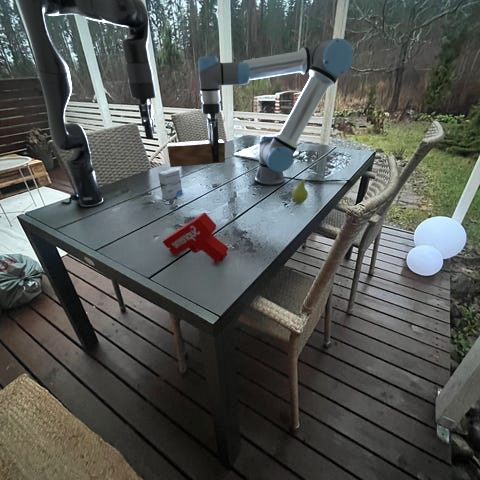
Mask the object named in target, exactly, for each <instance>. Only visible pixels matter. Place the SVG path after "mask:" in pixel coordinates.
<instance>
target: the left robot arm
mask: <svg viewBox="0 0 480 480" xmlns="http://www.w3.org/2000/svg"><path fill="white" fill-rule="evenodd" d="M17 2H18V6H19V9H20V11H21V14H22V17H23V21H24V24H25V26H26V30H27V33H28V36H29V40H30V43H31V47H32V53H33V55H34V56H33V57H34V61H35V65H36V71H37V74H38V78H39V82H40V85H41V90H42V93H43V98H44V102H45V107H46V113H47V118H48V120H47V121H48V128H49V133H50V137H51V140H52V142H53V145H54V146H55V147H56V148H57V149H58V150H59V151H61V152H67V151H71V150H72V153H71V154H70V155H69V156H68V157H67V158H66V159H65V165H66V167H67V171H68V173H69V176H70V178H71V181H72V182H71V186H72V189H73V193H70V195H69V199H68V200H69V201H61V202H60V203H61V204H62V205H63V204H64V205H70V204H71V203H72V201H73V202H76V201H77V202H78V205H80V206H81V207H83V208H93V207H96V206H99V205H102V204H103V203H104V198H103V195H102V193H101V188H100V186H99V183H98V179H97V176H96V173H95V169H94V166H93V163H92V154H91V150H90V147H89V141H88V138H87V134H86V132H85V130H84V129H83V127H82V126H81V125H80V124H79V123H76V122H70V123H66V121H65V113H66V108H67V105H68V103H69V100H70V97H71V94H72V90H73V86H72V85H73V84H72V78H71V73H70V68H69V66H68V64H67V61H66V60H65V58H64V56H63V55H62V53H61V52H60V51H59V49H58V48H57V46H56V44H55V42H54V41H53V40H52V38H51V36H50V34H49V30H48V27H47V24H46V19H45V16H50V17H55V16H63V15H77V16H81V17H82V18H85V19H87V20H91V21H95V22H100V23H107V24H111V25H116V26H119V27H125V28H128V37H127V38H124V39H123V40H122V41H121V46H122V52H123V56H124V57H123V58H124V63H125V69H126V77H127V81H128V87H129V92H130V97H131V98H132V99H133V100H139V103H138V110H139V113H140V114H139V115H140V119H141V125H142V127H143V128H144V129H143V130H144V133H145V139H147V140H153V139H154V134H155V132H156V131H155V125H154V118H155V117H154V107H153V104H152V100H151V99H155V98H156V97H157V93H156V92H157V91H156V86H155V80H154V74H153V73H154V72H153V69H152V66H151V60H150V53H149V49H148V47H149V46H148V45H149V30H150V29H149V27H150V25H149V24H150V22H149V21H150V20H149V13H148V10H147V7H146V5H145V3H144V2H143V0H17Z"/></svg>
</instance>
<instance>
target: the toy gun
mask: <svg viewBox="0 0 480 480" xmlns="http://www.w3.org/2000/svg"><path fill="white" fill-rule="evenodd" d="M216 229H217V224H216V223H215V222H214V221H213V219H212V218H211V217H210V216H209V215H208V214H207V213H206V212H203V213H201V214H200V215H198V216H197V217H195V218H194V219H192V220H191V221H189V222H187V223H186V224H184V225H183V226H181V227H180V228H178V229H176V230H175V231H174V232H172V233H170V234H169V235H168V236H167V237H166V238H165V239H164V240H162V244H163V245H164V247H166V248H167V249H168V251H169V252H170V253H171V254H172V255H174V256H177V255H178V254H180V253H182V252H184V251H186V250H188V249H189V250H190V252H192V253H193V254H197V253H199V252H200V251H202V252H204V253H205V254H206V255H207V256H209V257H210V258H211V259H212V260H213V262H214V264H218V263H219V262H223V261H224V260H225V258H226V257H227V255H228V251H229V249H230V248H229V247H228V246H227V244H225V243H223V242H222V241H220V239H218V238H217V237H216V236H214V235H213V233H214V232H215V231H216Z"/></svg>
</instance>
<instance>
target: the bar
mask: <svg viewBox="0 0 480 480" xmlns="http://www.w3.org/2000/svg"><path fill="white" fill-rule="evenodd" d="M215 144H216V143H215ZM211 146H212V140H208V139H207V140H195V141H181V142H168V143H166V148H167V154H168V161H169V167H170V168H181V167H190V166H191V167H192V166H201V165H202V166H203V165H213V164H223V163H224V164H225V163H226V151H225V149H226V148H225V141H224V140H223V139H219V146H218V150H219V162H213V156H212V147H211Z"/></svg>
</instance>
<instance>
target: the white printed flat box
mask: <svg viewBox="0 0 480 480" xmlns="http://www.w3.org/2000/svg"><path fill="white" fill-rule="evenodd" d="M259 152H260V143H258V144H256V145H253V146H250V147H248V148H242V150H240V151H238V152H234V153H233V156H236V157H241V158H244V159H245V158H246V159H249V160H250V159H251V160H255V161H259ZM299 154H300V152H299V151H297V150H296V151H295V153H294V155H293V156H294V158H295V157H296V156H299Z"/></svg>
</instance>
